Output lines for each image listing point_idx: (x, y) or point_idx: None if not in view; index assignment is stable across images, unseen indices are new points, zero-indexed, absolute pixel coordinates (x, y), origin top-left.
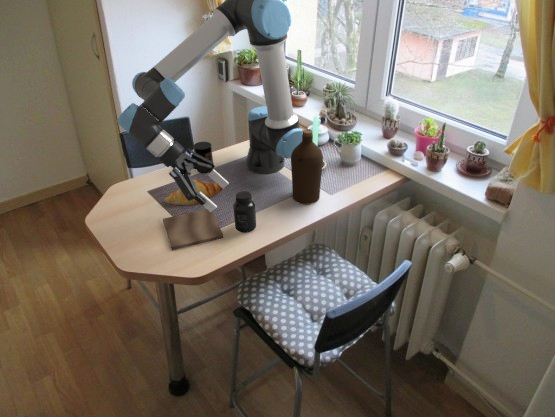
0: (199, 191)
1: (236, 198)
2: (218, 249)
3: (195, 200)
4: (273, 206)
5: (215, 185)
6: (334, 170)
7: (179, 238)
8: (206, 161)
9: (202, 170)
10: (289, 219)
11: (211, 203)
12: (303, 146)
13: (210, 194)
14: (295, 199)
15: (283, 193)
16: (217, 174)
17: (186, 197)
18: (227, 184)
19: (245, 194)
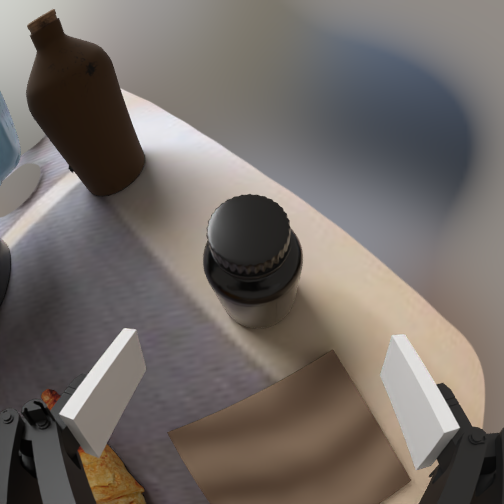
0: (102, 475)
1: (272, 262)
2: (386, 349)
3: (133, 485)
4: (142, 232)
5: None
6: (44, 150)
7: (367, 482)
8: (10, 463)
9: (92, 498)
10: (208, 185)
11: (418, 357)
12: (62, 45)
13: None
14: (126, 181)
15: (88, 219)
16: (95, 388)
17: (494, 474)
18: (137, 335)
19: (241, 219)
